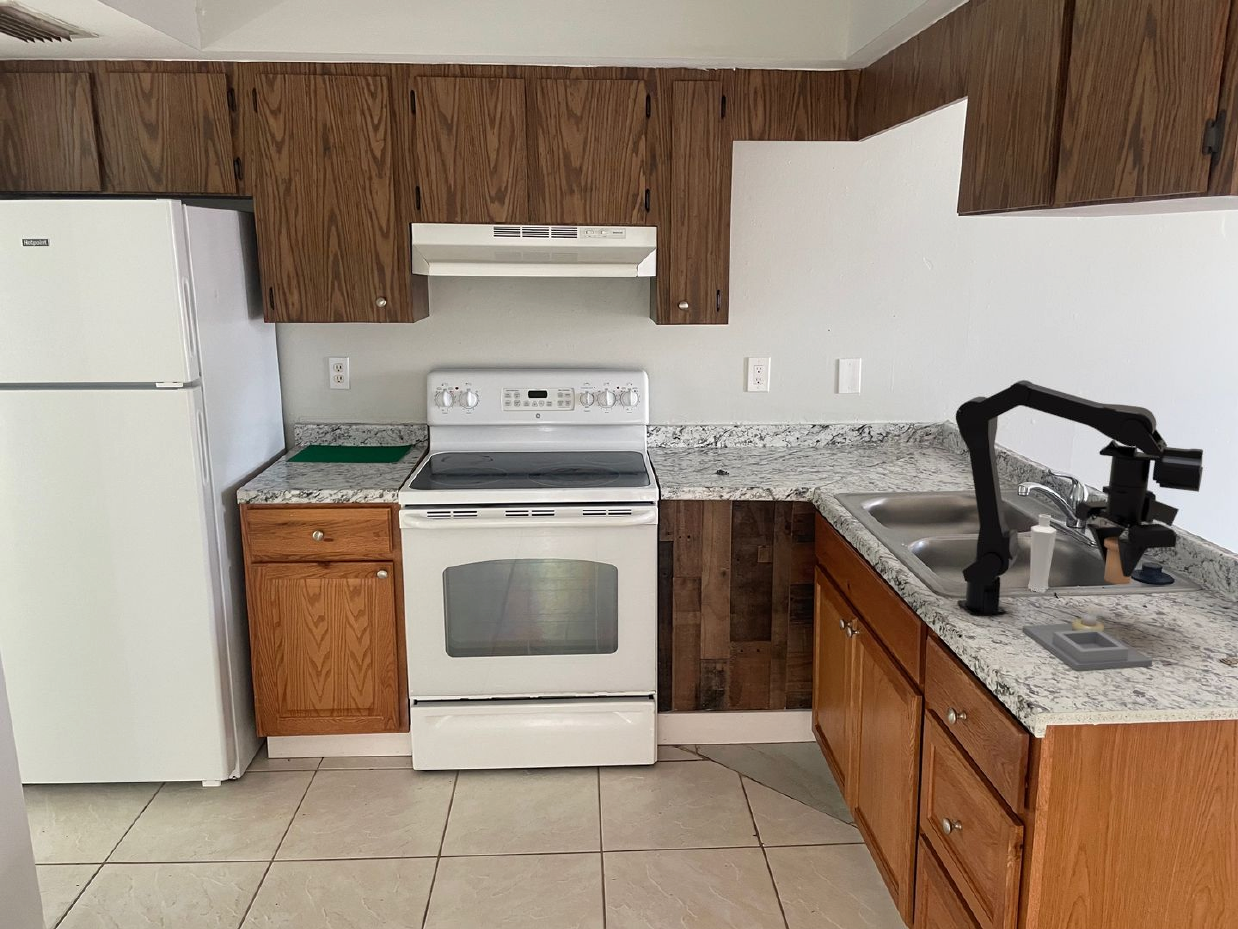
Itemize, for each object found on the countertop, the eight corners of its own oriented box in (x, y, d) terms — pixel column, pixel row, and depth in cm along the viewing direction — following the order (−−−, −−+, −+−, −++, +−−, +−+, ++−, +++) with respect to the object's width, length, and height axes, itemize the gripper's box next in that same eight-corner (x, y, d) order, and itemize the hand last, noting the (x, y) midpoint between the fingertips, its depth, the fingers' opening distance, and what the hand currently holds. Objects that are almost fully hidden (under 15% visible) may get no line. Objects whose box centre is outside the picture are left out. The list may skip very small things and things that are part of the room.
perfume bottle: (1053, 594, 185) (1061, 519, 181) (1029, 593, 185) (1036, 518, 182) (1047, 586, 189) (1054, 513, 186) (1024, 584, 190) (1031, 512, 186)
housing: (1022, 631, 167) (1024, 610, 166) (1092, 627, 169) (1094, 606, 168) (1075, 671, 152) (1078, 647, 151) (1151, 666, 153) (1154, 642, 152)
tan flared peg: (1093, 576, 166) (1098, 537, 164) (1121, 574, 166) (1125, 535, 165) (1112, 586, 161) (1117, 546, 159) (1141, 584, 161) (1146, 545, 160)
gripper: (1213, 495, 152) (1200, 588, 155) (1135, 468, 170) (1125, 552, 173) (1149, 498, 150) (1137, 592, 154) (1077, 471, 168) (1068, 555, 172)
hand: (1117, 571), depth 163 cm, fingers closed on tan flared peg, 4 cm apart
